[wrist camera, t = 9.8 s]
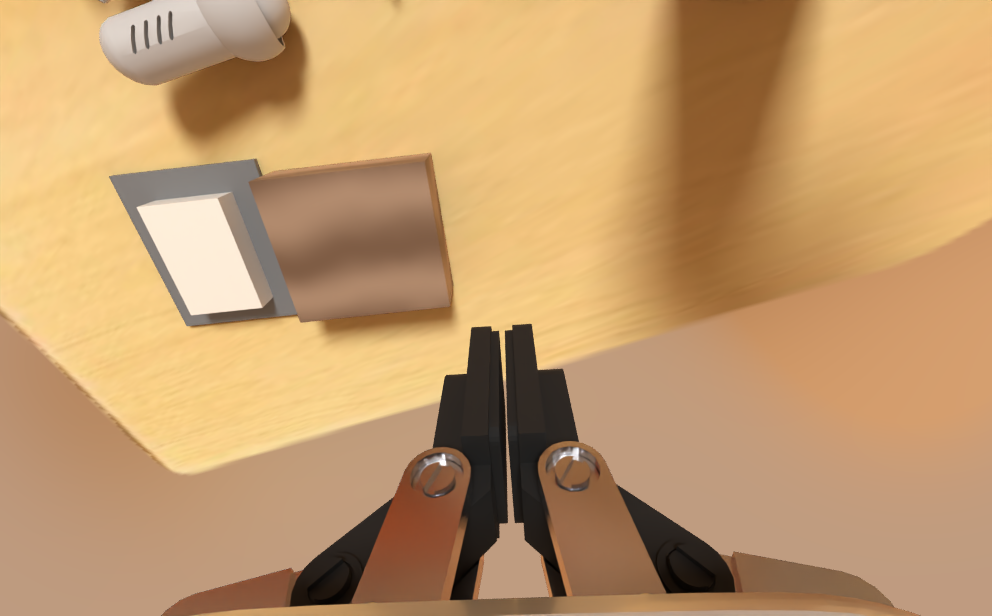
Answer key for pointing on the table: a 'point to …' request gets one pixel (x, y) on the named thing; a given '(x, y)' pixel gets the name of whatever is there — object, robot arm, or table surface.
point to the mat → (204, 182)
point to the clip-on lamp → (192, 36)
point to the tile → (207, 252)
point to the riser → (358, 236)
